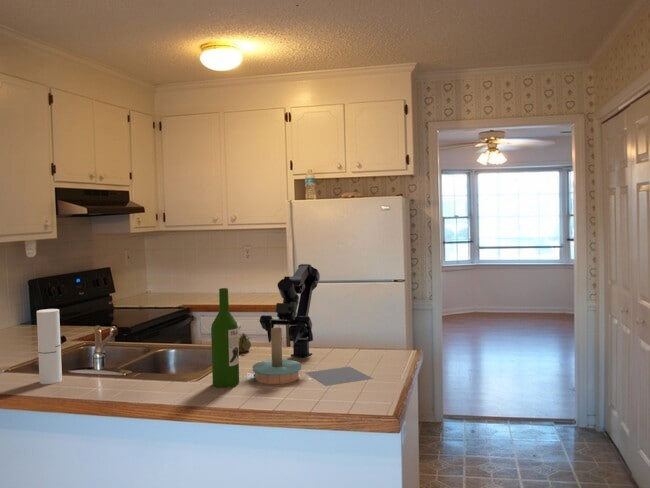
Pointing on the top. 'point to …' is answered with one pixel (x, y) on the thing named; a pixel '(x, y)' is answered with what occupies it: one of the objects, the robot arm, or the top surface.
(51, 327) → the cylindrical container
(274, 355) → the teal disc with post
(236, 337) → the wine bottle
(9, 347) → the top surface
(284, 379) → the bowl
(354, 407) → the top surface
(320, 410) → the top surface
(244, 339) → the artichoke
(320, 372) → the mat
